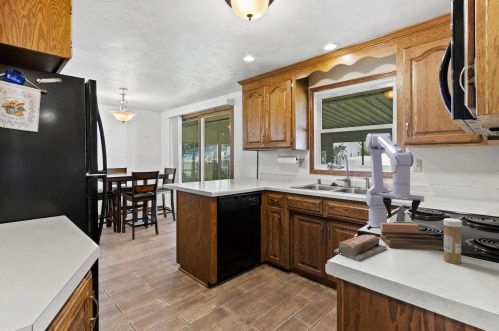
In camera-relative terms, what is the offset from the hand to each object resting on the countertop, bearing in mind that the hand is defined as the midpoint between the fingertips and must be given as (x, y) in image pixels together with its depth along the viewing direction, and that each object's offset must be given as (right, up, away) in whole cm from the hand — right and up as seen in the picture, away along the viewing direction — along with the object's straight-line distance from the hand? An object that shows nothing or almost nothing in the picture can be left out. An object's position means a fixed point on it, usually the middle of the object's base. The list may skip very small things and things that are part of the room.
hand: (401, 218), depth 99 cm
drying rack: (+3, -9, -1) cm, 10 cm away
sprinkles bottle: (+6, -10, -18) cm, 21 cm away
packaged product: (-19, -11, -7) cm, 23 cm away
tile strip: (+5, -9, +9) cm, 14 cm away
